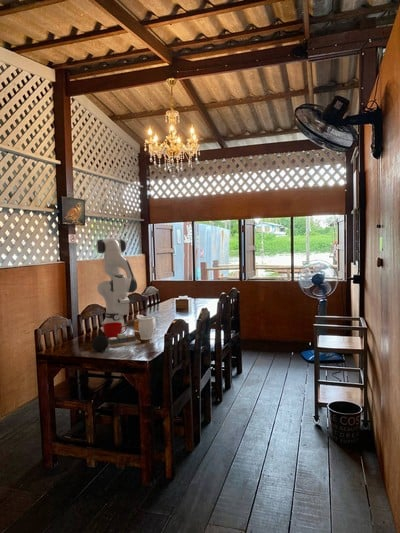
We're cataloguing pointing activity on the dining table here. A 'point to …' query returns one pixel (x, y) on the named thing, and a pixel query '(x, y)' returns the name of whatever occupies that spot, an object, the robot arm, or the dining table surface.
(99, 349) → the speaker
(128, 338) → the button board
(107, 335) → the ceramic cup
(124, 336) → the button two
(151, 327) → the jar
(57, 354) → the dining table surface
